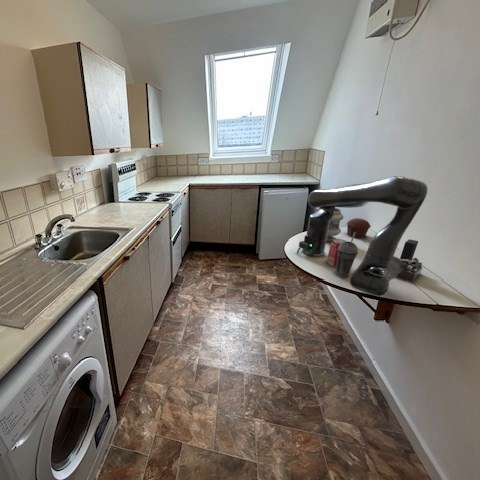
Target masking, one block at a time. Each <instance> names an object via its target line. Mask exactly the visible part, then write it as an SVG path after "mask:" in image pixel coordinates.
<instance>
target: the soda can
mask: <svg viewBox="0 0 480 480" xmlns="http://www.w3.org/2000/svg"><path fill="white" fill-rule="evenodd" d="M343 242H348V241H347V240H345V239H341V238H336V239H334V240H333V242H330V245H329V249H328V254H327V261H326V262H327V264H329V266H331V267H335V268H336V265H337V257H338V250H337V249H338V247H339V245H340V244H342V243H343Z"/></svg>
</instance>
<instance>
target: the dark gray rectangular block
mask: <svg viewBox="0 0 480 480" xmlns="http://www.w3.org/2000/svg"><path fill="white" fill-rule="evenodd" d="M418 243H419V240H415V239H407V240H406V241H405V242H404V245H403V248H402V251H401V254H400V257H399V259H408V260H413V259H414V255H415V252H416V250H417V247H418ZM410 265H411V263H410ZM406 270H409V269H406Z"/></svg>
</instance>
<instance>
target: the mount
mask: <svg viewBox="0 0 480 480" xmlns="http://www.w3.org/2000/svg"><path fill="white" fill-rule="evenodd" d="M422 270H423V266H422V265H421V268H420V270H418V271H417V272H415V273H412V272H411V270H406V269H405V270H403V271H402V272H400V273H399V274H398V276H396V277H397V278H401V279H404V280H407V281H410V282H413V281H414V280H416V279H417V277H419V276H420V275H421V272H422Z"/></svg>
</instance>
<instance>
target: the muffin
mask: <svg viewBox="0 0 480 480" xmlns="http://www.w3.org/2000/svg"><path fill="white" fill-rule="evenodd" d="M346 226H347V229H346V230H347V231H346V235H347V236H348V237H351V238H352V237H353V234H354V232H356V233H355V236H354V239H355V238H358V239H362V238H365V237H366V236H367V233H368V231H369V229H370V228H372V226H371V223H370V222H369V221H368V220H366V219H363V218H358V217H357V218H352V219H349V220H348V221H347V222H346Z"/></svg>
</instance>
